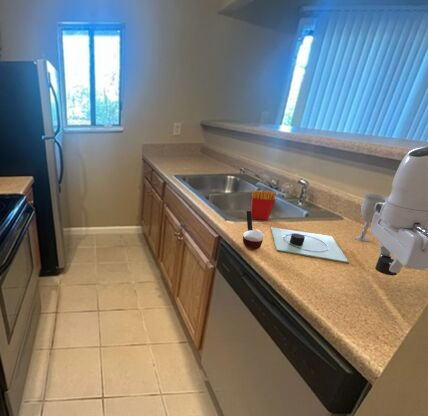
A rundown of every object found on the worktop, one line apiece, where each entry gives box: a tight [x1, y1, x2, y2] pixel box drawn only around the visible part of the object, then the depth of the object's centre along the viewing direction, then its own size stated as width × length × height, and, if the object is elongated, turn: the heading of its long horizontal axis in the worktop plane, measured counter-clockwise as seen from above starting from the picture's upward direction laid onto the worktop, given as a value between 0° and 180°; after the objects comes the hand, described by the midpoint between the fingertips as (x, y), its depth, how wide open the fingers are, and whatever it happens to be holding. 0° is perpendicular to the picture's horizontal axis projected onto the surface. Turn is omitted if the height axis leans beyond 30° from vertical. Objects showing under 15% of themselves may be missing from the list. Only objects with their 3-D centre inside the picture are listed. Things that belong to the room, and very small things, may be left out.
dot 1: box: [290, 233, 305, 246], centre depth 99 cm, size 4×4×3 cm
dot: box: [374, 257, 398, 276], centre depth 70 cm, size 4×4×3 cm
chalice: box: [354, 193, 388, 242], centre depth 96 cm, size 7×7×18 cm
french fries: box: [250, 189, 277, 221], centre depth 120 cm, size 9×4×13 cm, turn 72°
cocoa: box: [242, 210, 265, 250], centre depth 97 cm, size 10×6×12 cm, turn 159°
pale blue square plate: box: [270, 226, 350, 264], centre depth 100 cm, size 20×20×1 cm
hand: (387, 265), depth 70 cm, fingers closed on dot, 4 cm apart
